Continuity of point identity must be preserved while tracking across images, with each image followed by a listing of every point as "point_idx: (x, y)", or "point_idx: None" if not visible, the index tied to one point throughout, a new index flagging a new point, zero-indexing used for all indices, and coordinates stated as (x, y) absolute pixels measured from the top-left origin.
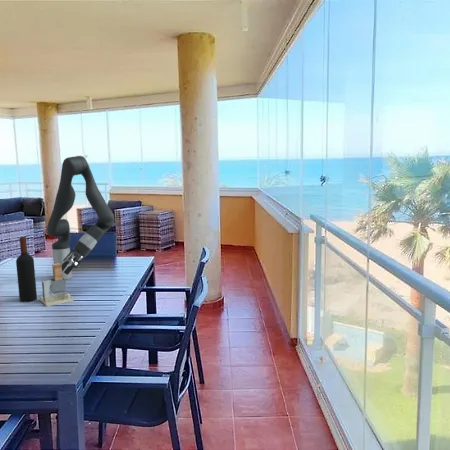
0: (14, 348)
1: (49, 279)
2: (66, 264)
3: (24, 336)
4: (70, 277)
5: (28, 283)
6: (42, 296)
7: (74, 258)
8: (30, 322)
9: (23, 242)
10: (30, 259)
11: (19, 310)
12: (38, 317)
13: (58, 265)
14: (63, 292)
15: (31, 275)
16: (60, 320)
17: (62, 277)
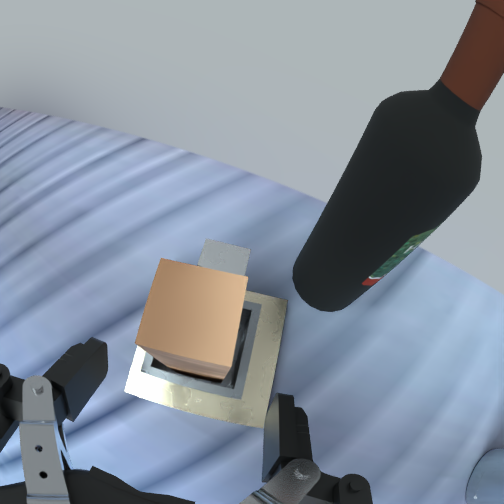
0: (26, 122)
1: (247, 301)
2: (269, 479)
3: (39, 141)
4: (468, 502)
5: (320, 220)
6: (283, 312)
7: (28, 482)
8: (82, 172)
9: (474, 11)
10: (396, 130)
11: (215, 198)
12: (90, 200)
13: (146, 306)
14: (262, 417)
15: (339, 212)
16: (17, 224)
17: (164, 364)
